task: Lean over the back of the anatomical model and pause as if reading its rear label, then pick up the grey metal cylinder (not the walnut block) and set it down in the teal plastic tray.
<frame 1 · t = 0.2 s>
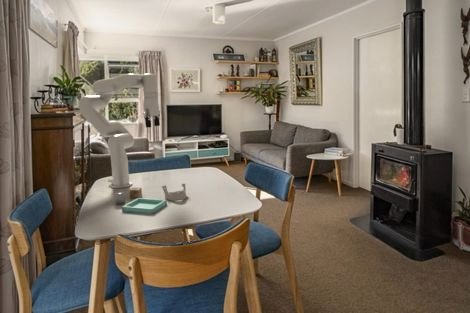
hand: (152, 126, 188), 37 cm above the table, tool pointing down, fingers open, 9 cm apart
walnut block: (136, 197, 176), on the table
tray: (145, 207, 159), on the table
anatomical model: (176, 198, 174), on the table
grey metal cylinder: (120, 203, 166), on the table
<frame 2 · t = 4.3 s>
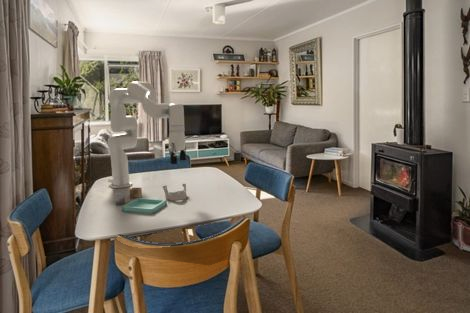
hand: (178, 162, 167), 20 cm above the table, tool pointing down, fingers open, 9 cm apart
nothing on the table moved.
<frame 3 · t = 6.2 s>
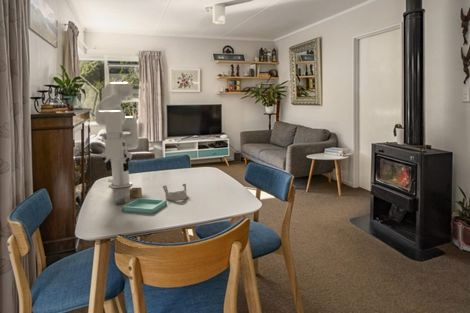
hand: (117, 170, 163), 17 cm above the table, tool pointing down, fingers open, 9 cm apart
nothing on the table moved.
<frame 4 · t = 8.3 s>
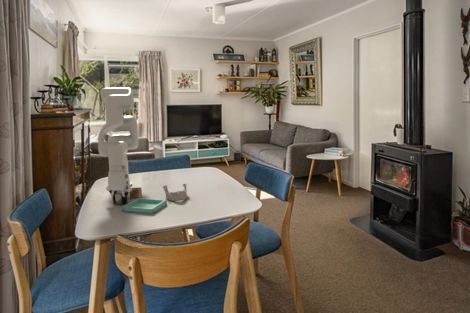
hand: (120, 203, 166), 0 cm above the table, tool pointing down, fingers closed on grey metal cylinder, 4 cm apart
grey metal cylinder: (120, 203, 166), on the table, touching gripper
everything else where it was.
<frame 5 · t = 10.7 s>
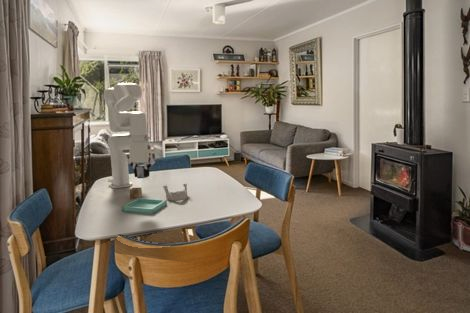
hand: (142, 176, 156), 16 cm above the table, tool pointing down, fingers closed on grey metal cylinder, 4 cm apart
grey metal cylinder: (142, 177, 156), point 15 cm above the table, touching gripper
everything else where it was.
when the fingers open (2 cm above the table, at t = 13.5 s): grey metal cylinder drops 1 cm, resting on tray.
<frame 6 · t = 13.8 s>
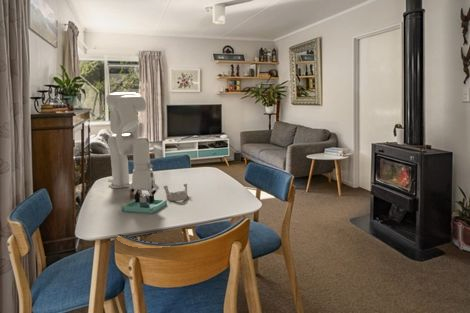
hand: (144, 202, 158), 3 cm above the table, tool pointing down, fingers open, 7 cm apart
grey metal cylinder: (144, 206, 159), point 1 cm above the table, touching tray
everything else where it was.
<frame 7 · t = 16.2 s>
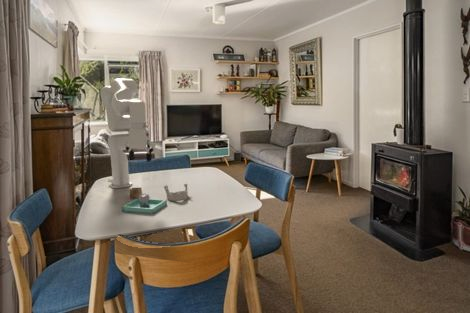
hand: (140, 160, 164), 22 cm above the table, tool pointing down, fingers open, 9 cm apart
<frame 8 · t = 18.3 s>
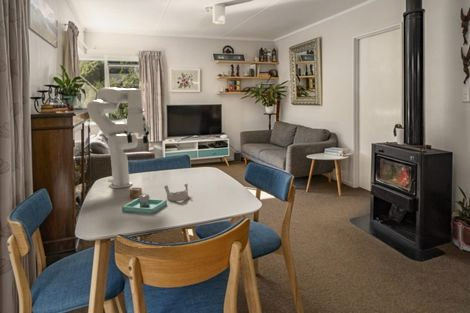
hand: (137, 142, 181), 28 cm above the table, tool pointing down, fingers open, 9 cm apart
at the end: grey metal cylinder inside the target area on the tray (0.1 cm from its centre), point 0.6 cm above the tray's base; grey metal cylinder tilted 0°; the gripper is holding nothing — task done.
